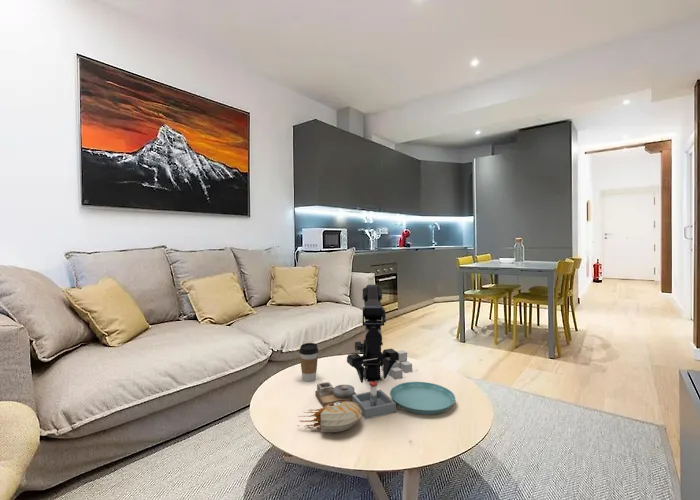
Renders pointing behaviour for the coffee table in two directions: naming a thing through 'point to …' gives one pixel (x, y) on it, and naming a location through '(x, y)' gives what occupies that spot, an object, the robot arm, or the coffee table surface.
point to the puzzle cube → (400, 366)
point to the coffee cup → (308, 361)
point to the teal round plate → (422, 397)
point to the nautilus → (335, 416)
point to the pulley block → (333, 393)
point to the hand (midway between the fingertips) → (373, 380)
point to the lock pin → (373, 393)
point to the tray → (382, 408)
